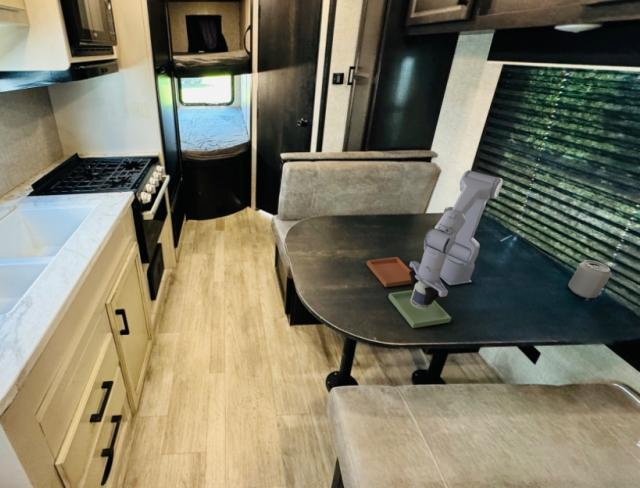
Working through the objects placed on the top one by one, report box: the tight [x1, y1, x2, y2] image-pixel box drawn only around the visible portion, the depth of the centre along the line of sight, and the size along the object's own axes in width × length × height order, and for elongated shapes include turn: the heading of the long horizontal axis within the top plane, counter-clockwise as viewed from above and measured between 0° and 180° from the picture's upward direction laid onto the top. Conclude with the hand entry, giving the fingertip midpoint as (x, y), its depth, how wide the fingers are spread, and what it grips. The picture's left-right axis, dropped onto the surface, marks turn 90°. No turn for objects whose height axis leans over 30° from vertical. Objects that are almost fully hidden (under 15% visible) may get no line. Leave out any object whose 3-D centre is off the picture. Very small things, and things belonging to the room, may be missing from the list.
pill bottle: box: [411, 280, 431, 309], centre depth 102 cm, size 5×5×10 cm
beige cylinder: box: [567, 259, 612, 299], centre depth 109 cm, size 8×8×12 cm
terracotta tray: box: [366, 256, 412, 288], centre depth 121 cm, size 13×13×2 cm
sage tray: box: [388, 289, 452, 329], centre depth 105 cm, size 13×13×2 cm
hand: (421, 297), depth 103 cm, fingers closed on pill bottle, 5 cm apart
